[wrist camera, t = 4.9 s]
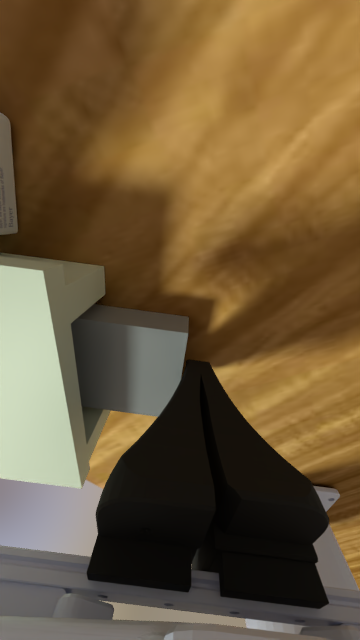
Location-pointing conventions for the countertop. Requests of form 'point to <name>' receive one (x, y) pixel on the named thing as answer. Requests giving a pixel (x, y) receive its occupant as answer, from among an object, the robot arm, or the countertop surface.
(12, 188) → the medicine box
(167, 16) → the countertop surface
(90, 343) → the slate tile
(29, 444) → the shelf
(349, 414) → the countertop surface
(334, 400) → the countertop surface
